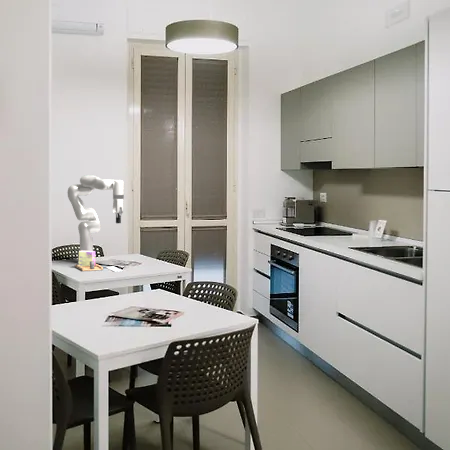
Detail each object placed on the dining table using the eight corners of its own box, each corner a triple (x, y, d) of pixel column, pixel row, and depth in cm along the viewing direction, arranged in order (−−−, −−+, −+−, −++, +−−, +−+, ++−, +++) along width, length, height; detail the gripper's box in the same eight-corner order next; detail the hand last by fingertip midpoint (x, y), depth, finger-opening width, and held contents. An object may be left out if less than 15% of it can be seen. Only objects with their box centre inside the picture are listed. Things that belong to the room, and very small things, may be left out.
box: (95, 267, 421) (95, 250, 420) (92, 268, 415) (92, 251, 414) (81, 266, 423) (81, 250, 422) (78, 267, 417) (78, 251, 416)
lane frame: (75, 266, 421) (75, 258, 421) (95, 265, 428) (95, 257, 427) (82, 271, 404) (82, 262, 403) (103, 269, 410) (103, 261, 410)
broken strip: (105, 267, 421) (105, 266, 421) (114, 267, 424) (114, 266, 424) (114, 271, 403) (114, 271, 403) (122, 271, 406) (122, 270, 406)
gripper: (110, 197, 421) (110, 222, 423) (116, 197, 408) (116, 224, 410) (120, 197, 425) (120, 222, 427) (126, 197, 412) (126, 223, 413)
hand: (118, 223), depth 418 cm, fingers closed
